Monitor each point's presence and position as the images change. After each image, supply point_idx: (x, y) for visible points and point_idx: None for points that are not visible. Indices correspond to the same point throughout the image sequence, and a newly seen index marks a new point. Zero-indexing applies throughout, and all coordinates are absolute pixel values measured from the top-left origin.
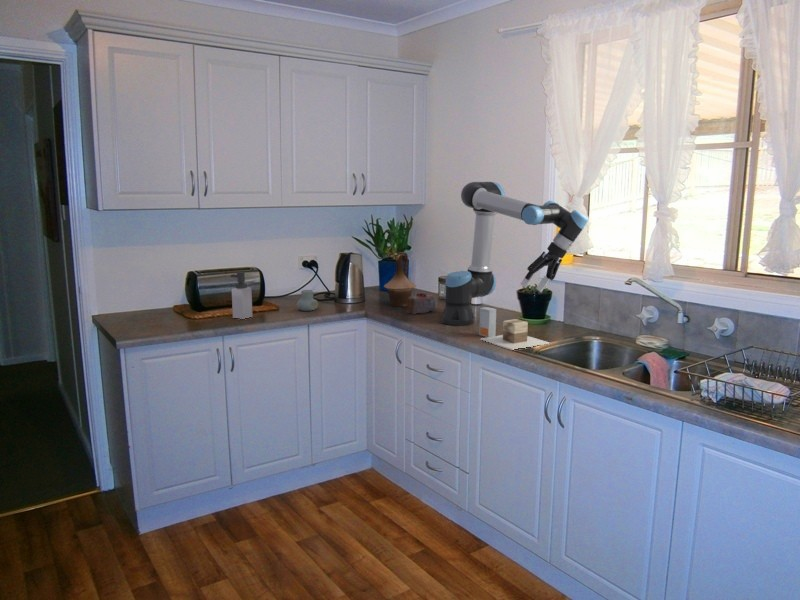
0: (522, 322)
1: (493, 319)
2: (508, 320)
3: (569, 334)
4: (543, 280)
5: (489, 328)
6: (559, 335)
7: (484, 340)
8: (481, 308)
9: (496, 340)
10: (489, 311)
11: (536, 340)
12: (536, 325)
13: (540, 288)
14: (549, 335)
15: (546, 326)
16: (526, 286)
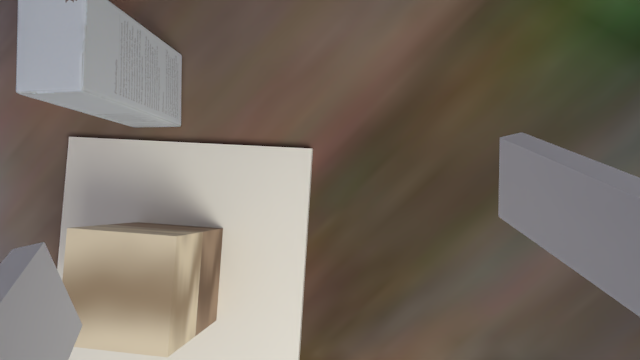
0: (131, 341)
1: (104, 108)
2: (102, 239)
3: (572, 330)
4: (636, 233)
5: (108, 119)
6: (498, 311)
7: (68, 170)
8: (18, 5)
9: (103, 214)
10: (23, 94)
11: (270, 338)
12: (580, 49)
13: (523, 207)
14: (447, 276)
15: (616, 102)
16: (71, 341)
